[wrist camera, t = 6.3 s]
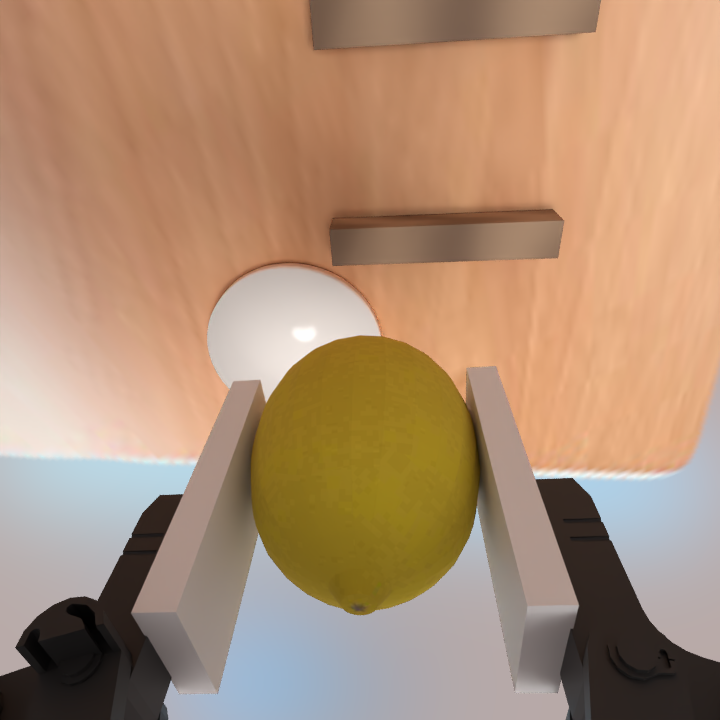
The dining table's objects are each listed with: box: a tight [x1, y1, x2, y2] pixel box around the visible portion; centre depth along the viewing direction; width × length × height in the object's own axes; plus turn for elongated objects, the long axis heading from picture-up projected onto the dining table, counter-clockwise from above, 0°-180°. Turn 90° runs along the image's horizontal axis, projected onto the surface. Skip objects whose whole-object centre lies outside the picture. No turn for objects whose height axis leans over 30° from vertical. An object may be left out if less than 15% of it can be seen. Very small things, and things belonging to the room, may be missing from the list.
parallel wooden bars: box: [310, 0, 601, 266], centre depth 24 cm, size 12×12×2 cm
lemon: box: [251, 335, 480, 615], centre depth 12 cm, size 6×6×8 cm
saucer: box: [207, 263, 381, 403], centre depth 32 cm, size 11×11×1 cm
